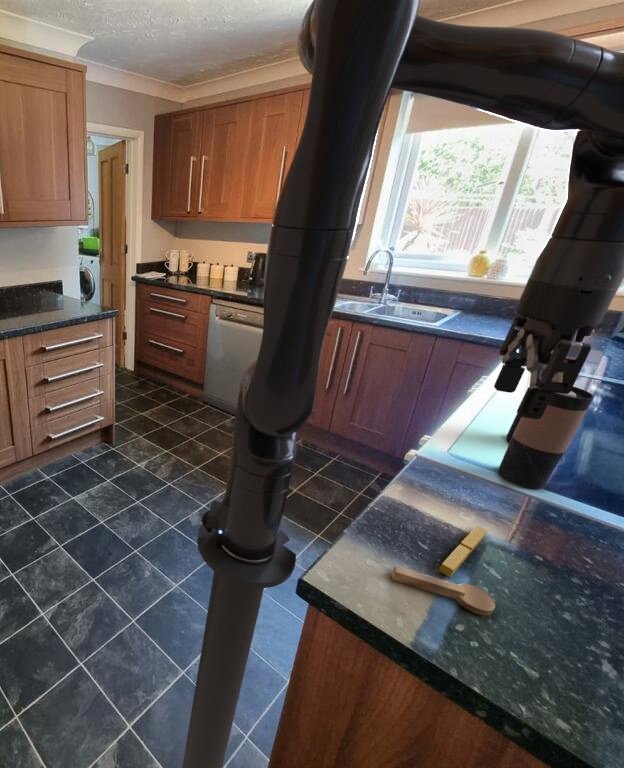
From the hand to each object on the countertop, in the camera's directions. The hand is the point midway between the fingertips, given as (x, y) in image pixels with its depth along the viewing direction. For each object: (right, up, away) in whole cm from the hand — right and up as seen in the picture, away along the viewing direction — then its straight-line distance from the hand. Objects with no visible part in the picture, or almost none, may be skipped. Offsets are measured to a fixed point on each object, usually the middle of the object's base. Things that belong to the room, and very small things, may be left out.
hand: (514, 403), depth 56 cm
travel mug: (+30, -17, +30) cm, 46 cm away
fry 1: (-1, -25, +9) cm, 27 cm away
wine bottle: (+43, -12, +43) cm, 62 cm away
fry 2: (+6, -24, +14) cm, 28 cm away
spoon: (-6, -27, +5) cm, 29 cm away
